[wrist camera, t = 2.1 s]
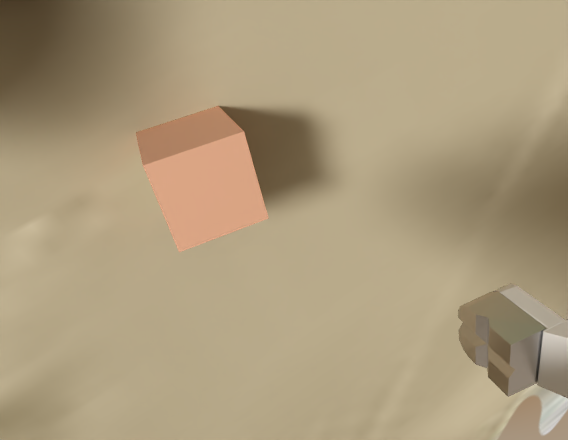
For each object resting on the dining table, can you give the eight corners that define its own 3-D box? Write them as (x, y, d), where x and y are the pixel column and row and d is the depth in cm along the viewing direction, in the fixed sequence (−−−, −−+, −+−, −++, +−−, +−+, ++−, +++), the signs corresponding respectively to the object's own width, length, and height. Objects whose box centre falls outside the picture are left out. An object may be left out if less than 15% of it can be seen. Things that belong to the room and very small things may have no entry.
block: (240, 179, 29) (268, 218, 24) (166, 206, 28) (179, 252, 23) (218, 105, 27) (244, 131, 22) (135, 132, 26) (143, 165, 21)
